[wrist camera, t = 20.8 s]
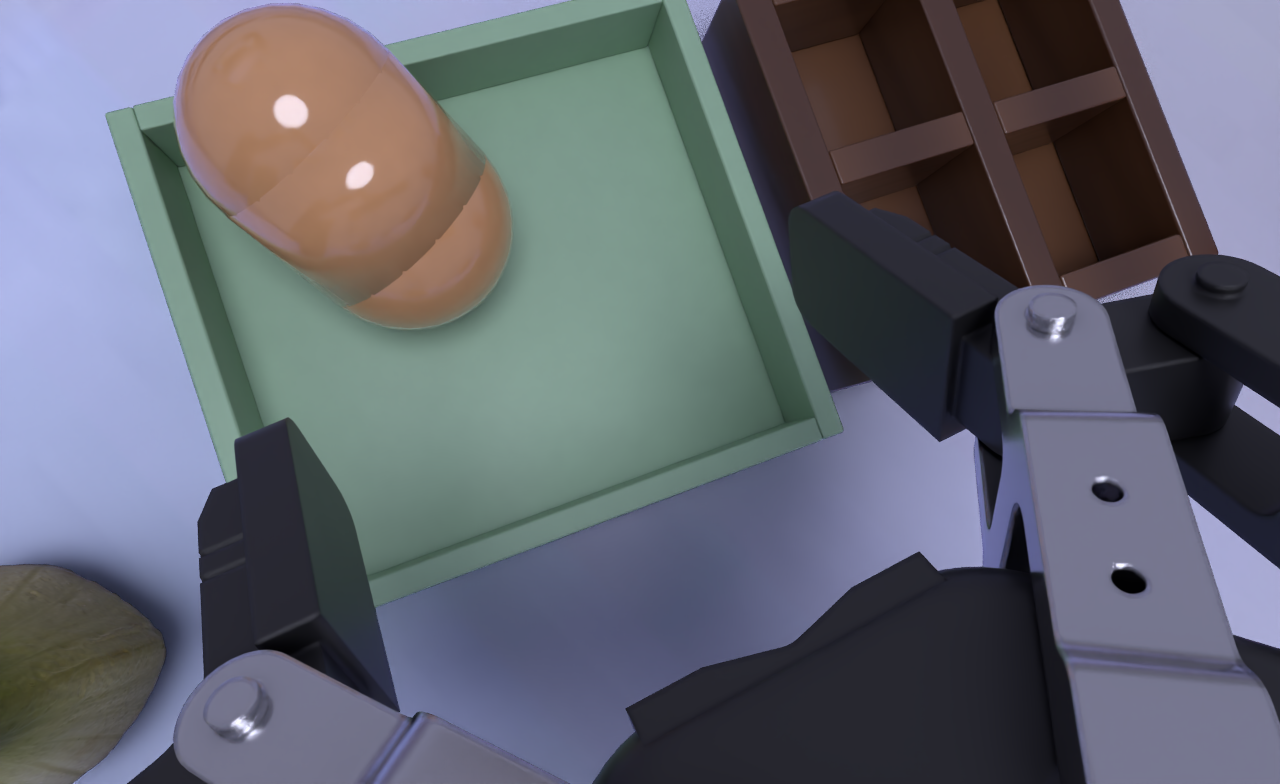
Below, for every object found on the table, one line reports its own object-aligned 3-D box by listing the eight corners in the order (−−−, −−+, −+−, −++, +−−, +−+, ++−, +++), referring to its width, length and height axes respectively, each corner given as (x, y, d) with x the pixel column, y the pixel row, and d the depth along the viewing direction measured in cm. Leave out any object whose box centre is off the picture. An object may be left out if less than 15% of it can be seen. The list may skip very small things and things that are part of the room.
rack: (818, 395, 23) (877, 380, 19) (694, 55, 23) (729, -21, 20) (1118, 287, 25) (1221, 254, 21) (998, -25, 25) (1079, -107, 22)
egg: (394, 405, 19) (74, 164, 15) (424, 285, 23) (174, 63, 18) (553, 302, 17) (243, -5, 13) (559, 190, 21) (317, -81, 16)
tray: (307, 623, 20) (278, 644, 17) (154, 160, 21) (103, 111, 18) (805, 437, 23) (845, 431, 20) (657, 32, 23) (677, -26, 21)
